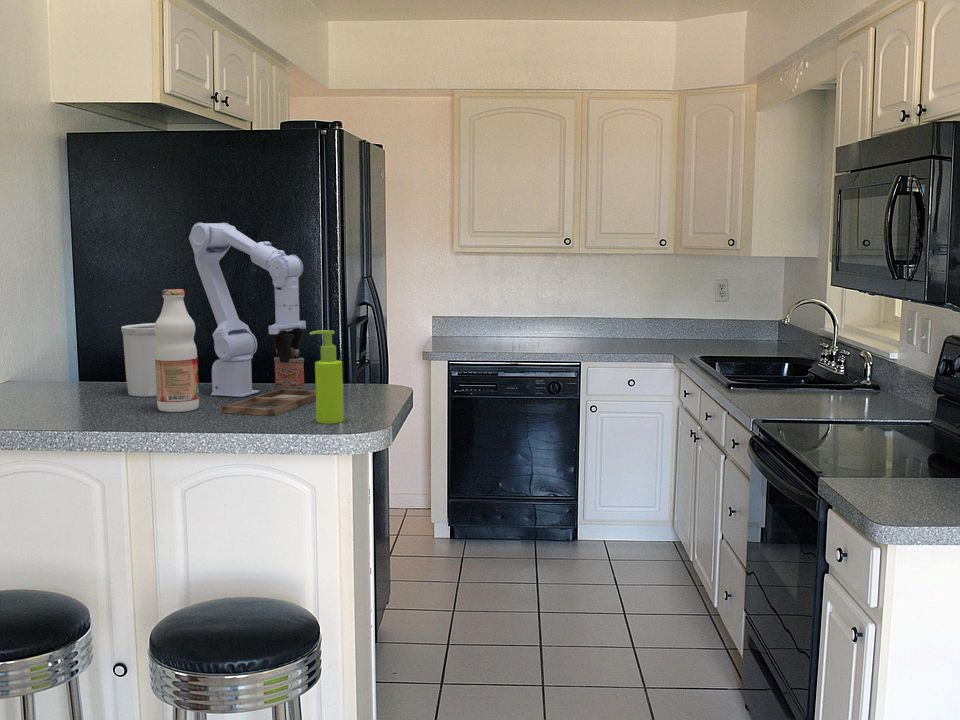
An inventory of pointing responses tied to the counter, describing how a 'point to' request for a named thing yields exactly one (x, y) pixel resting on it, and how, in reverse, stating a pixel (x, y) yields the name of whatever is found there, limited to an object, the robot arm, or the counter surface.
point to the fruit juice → (176, 356)
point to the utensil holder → (140, 359)
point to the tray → (272, 402)
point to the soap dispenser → (328, 382)
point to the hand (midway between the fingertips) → (288, 360)
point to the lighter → (290, 372)
